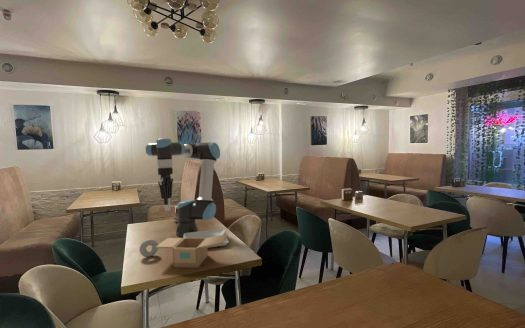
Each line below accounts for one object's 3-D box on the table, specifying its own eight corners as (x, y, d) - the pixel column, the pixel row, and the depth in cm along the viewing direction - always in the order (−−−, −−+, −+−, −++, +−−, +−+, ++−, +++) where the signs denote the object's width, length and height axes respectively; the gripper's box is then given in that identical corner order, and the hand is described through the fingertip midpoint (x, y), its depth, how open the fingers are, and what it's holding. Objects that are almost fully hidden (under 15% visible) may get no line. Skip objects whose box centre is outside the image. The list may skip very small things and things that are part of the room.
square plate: (184, 238, 181) (183, 232, 180) (224, 233, 187) (224, 228, 187) (181, 253, 154) (181, 246, 154) (229, 247, 160) (229, 241, 160)
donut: (140, 260, 146) (139, 242, 145) (139, 258, 149) (138, 240, 148) (159, 255, 151) (158, 238, 151) (158, 253, 154) (157, 236, 154)
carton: (169, 255, 151) (168, 237, 151) (207, 255, 149) (206, 237, 148) (155, 267, 136) (153, 248, 135) (197, 268, 133) (196, 248, 132)
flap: (227, 233, 146) (228, 235, 146) (206, 238, 147) (207, 239, 147) (221, 242, 133) (222, 244, 133) (198, 247, 134) (199, 248, 134)
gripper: (164, 166, 152) (166, 207, 154) (152, 168, 139) (155, 213, 141) (176, 166, 151) (179, 207, 153) (166, 168, 138) (168, 213, 140)
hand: (167, 210), depth 147 cm, fingers closed
